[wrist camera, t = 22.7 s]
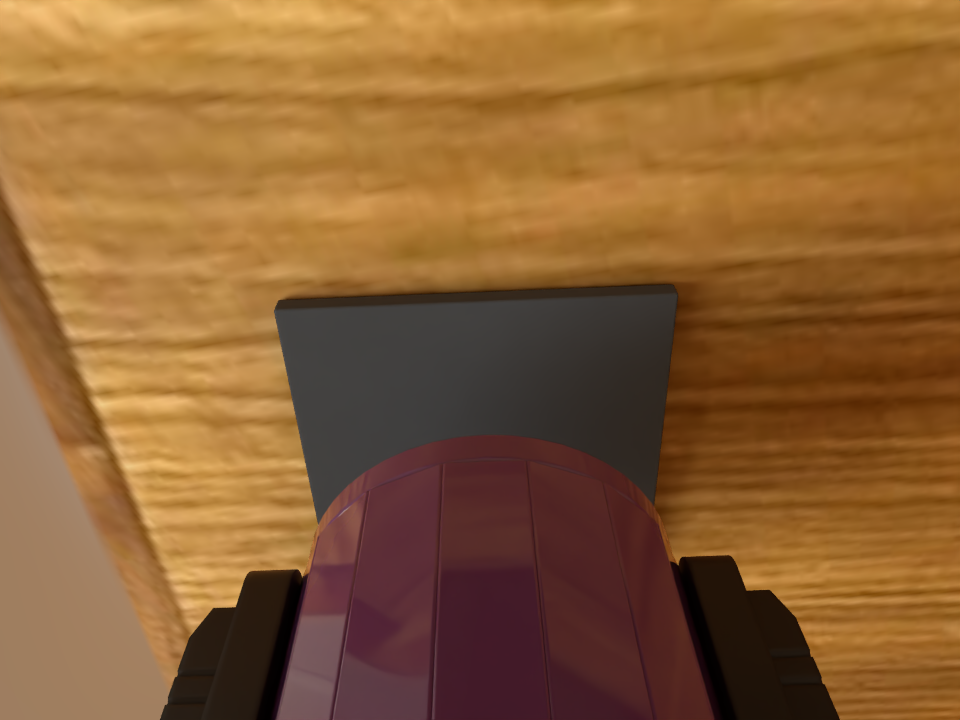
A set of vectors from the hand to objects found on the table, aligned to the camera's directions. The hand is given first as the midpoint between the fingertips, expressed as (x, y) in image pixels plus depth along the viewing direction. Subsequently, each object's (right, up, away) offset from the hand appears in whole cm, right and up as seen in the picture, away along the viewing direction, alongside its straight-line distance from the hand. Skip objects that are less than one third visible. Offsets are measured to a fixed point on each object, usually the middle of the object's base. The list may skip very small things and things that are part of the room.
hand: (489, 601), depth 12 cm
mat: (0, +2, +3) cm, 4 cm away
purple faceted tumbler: (0, 0, 0) cm, 1 cm away
